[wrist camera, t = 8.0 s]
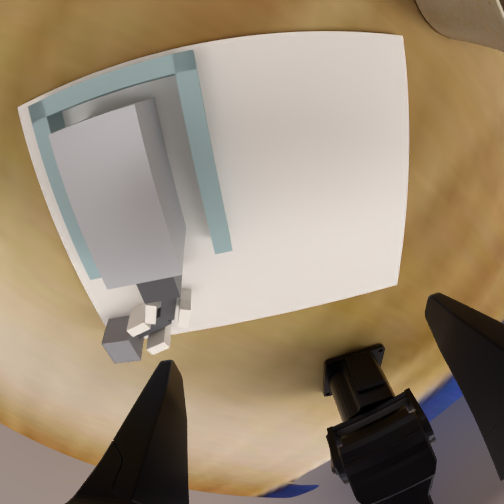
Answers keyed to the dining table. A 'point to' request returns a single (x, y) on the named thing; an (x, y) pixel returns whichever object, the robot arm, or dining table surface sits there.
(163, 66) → the holder
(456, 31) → the flower pot
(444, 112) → the dining table surface
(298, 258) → the board
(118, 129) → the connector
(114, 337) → the grey blocky piece
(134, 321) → the clips
